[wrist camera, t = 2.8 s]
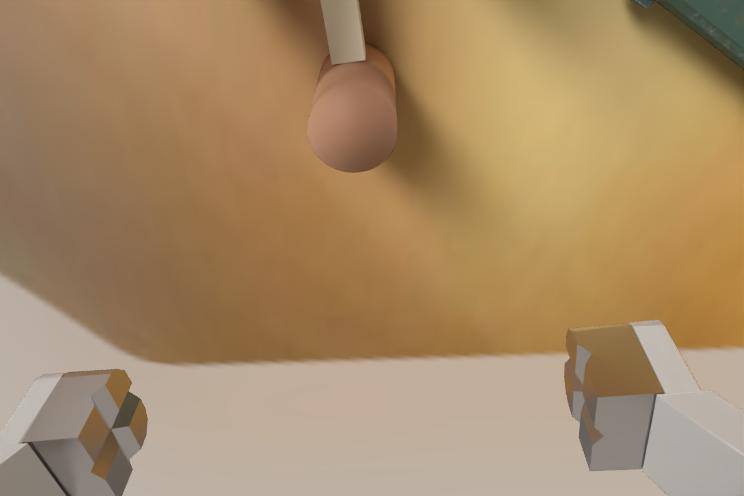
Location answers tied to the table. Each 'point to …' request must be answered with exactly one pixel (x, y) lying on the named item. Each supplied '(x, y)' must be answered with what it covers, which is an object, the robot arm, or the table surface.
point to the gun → (711, 22)
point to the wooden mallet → (352, 96)
